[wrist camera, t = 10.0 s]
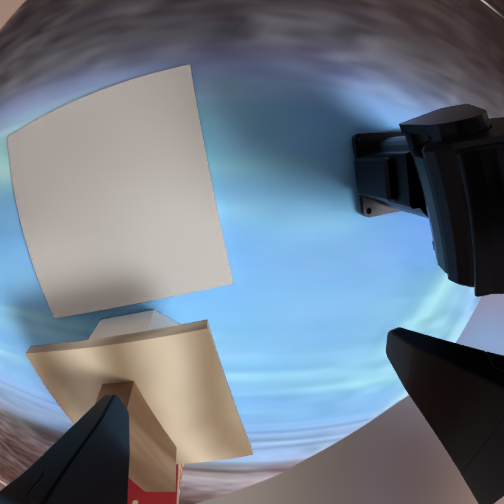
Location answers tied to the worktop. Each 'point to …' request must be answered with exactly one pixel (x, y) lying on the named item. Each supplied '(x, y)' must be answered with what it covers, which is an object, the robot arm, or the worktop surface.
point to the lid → (152, 395)
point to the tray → (119, 197)
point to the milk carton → (142, 500)
